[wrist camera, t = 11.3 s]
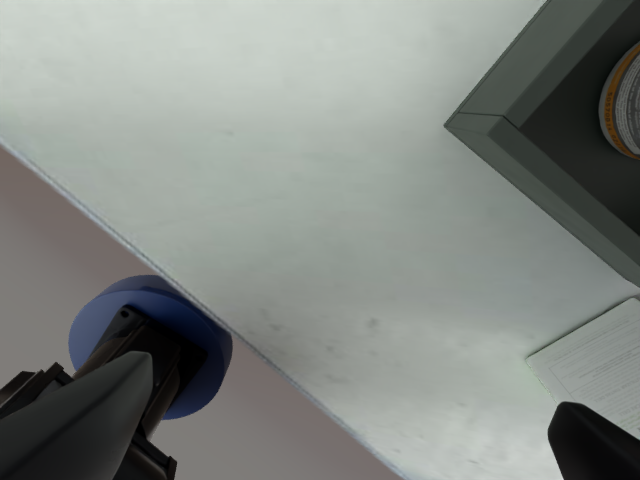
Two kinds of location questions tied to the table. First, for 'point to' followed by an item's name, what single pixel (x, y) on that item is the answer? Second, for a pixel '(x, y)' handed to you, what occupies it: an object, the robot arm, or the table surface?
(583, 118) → the bin
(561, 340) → the ink box
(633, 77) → the pill bottle
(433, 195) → the table surface
